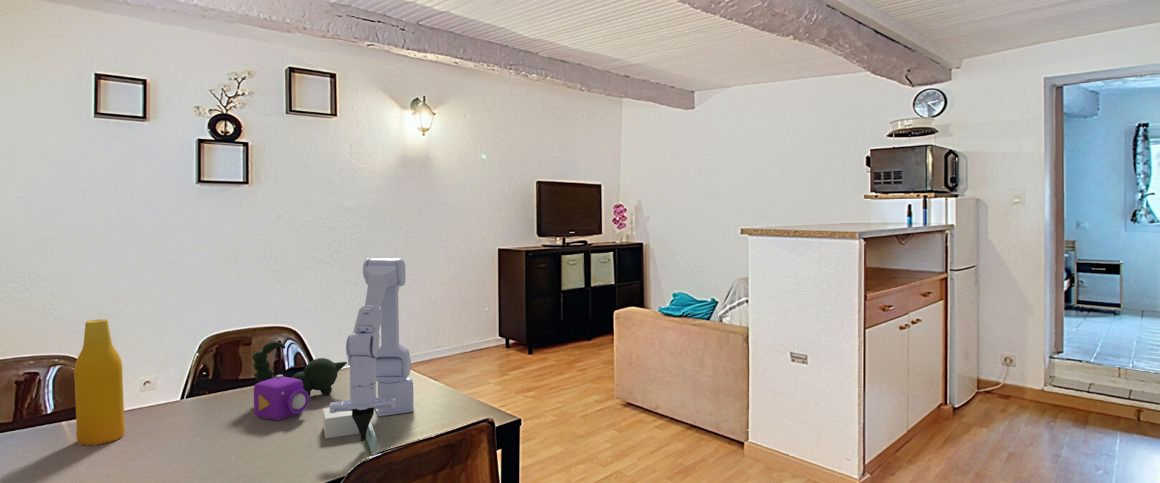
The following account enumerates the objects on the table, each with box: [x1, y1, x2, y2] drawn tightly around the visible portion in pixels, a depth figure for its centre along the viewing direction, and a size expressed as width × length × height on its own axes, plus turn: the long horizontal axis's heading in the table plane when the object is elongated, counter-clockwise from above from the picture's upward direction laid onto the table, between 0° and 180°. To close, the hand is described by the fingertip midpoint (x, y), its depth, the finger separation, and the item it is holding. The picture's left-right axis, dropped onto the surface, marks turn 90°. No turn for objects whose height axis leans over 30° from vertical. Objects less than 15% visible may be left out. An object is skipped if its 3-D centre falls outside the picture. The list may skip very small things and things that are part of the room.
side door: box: [366, 421, 377, 455], centre depth 148 cm, size 16×1×5 cm, turn 26°
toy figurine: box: [252, 341, 348, 398], centre depth 181 cm, size 9×19×25 cm
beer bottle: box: [73, 318, 126, 446], centre depth 148 cm, size 9×9×29 cm
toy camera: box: [253, 374, 310, 421], centre depth 167 cm, size 11×14×10 cm
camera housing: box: [322, 407, 360, 439], centre depth 157 cm, size 11×8×6 cm
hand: (363, 439), depth 145 cm, fingers closed
